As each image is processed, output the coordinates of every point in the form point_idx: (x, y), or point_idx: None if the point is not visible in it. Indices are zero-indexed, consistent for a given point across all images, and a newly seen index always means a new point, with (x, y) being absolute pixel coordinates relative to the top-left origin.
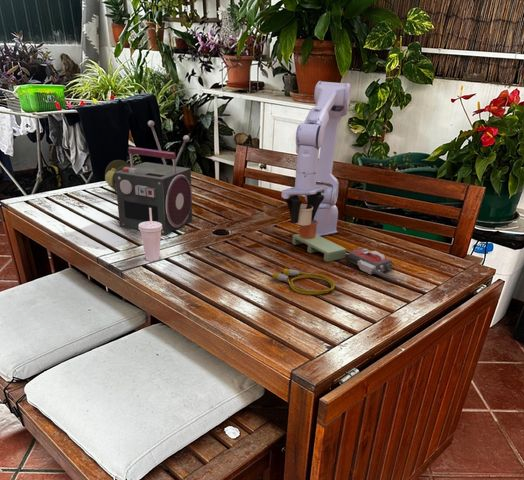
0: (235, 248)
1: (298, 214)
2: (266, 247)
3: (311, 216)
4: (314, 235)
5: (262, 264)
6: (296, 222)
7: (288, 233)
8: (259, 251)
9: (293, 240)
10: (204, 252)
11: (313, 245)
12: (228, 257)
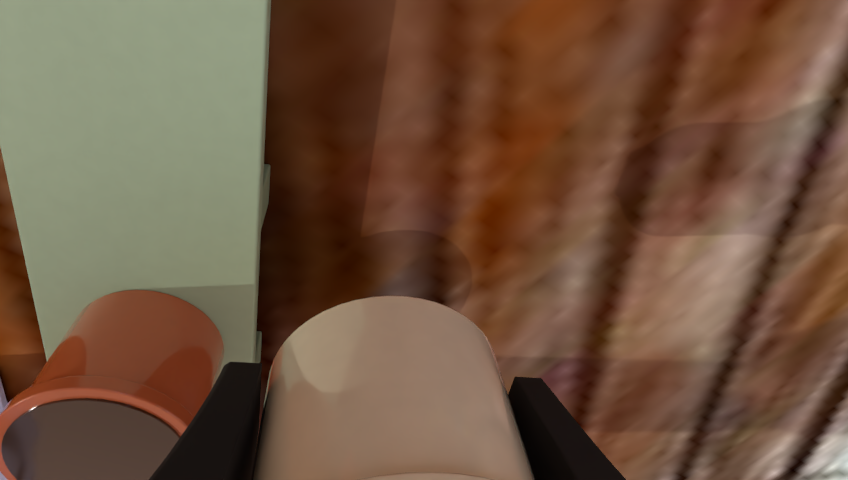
0: (596, 435)
1: (574, 471)
2: None
3: (318, 392)
4: (113, 305)
5: (710, 206)
6: (536, 383)
7: None
8: (538, 357)
9: None
10: (740, 455)
11: (261, 168)
12: (730, 370)
